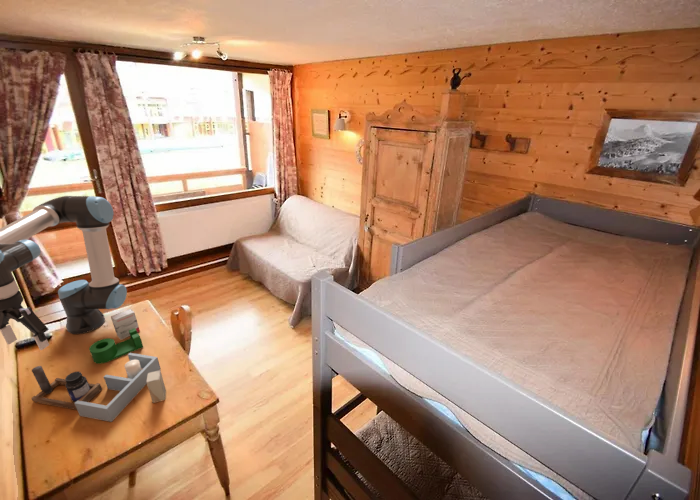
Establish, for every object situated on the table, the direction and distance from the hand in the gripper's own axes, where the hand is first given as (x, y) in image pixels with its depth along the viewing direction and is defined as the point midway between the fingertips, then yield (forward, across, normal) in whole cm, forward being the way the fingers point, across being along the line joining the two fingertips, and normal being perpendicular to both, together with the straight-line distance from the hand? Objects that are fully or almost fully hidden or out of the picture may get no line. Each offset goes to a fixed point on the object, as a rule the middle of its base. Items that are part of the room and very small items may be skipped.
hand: (28, 344), depth 115 cm
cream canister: (+24, +26, +12) cm, 38 cm away
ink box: (+24, +2, +36) cm, 43 cm away
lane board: (+24, +26, +6) cm, 36 cm away
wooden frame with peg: (+23, +7, 0) cm, 25 cm away
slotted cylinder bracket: (+24, +6, +24) cm, 35 cm away
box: (+24, +41, +6) cm, 48 cm away
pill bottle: (+24, +13, 0) cm, 27 cm away
